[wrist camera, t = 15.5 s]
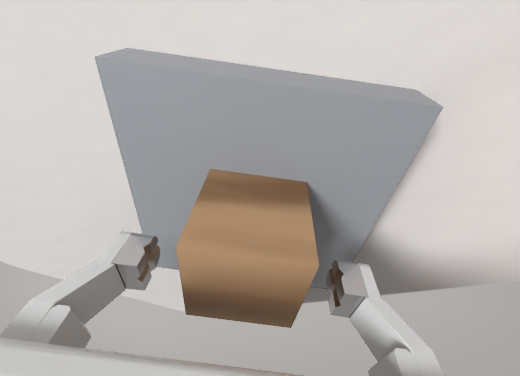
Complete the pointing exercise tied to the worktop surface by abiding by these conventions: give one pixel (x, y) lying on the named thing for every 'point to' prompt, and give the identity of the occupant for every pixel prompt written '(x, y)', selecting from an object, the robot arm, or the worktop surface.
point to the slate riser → (260, 141)
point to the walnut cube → (248, 249)
